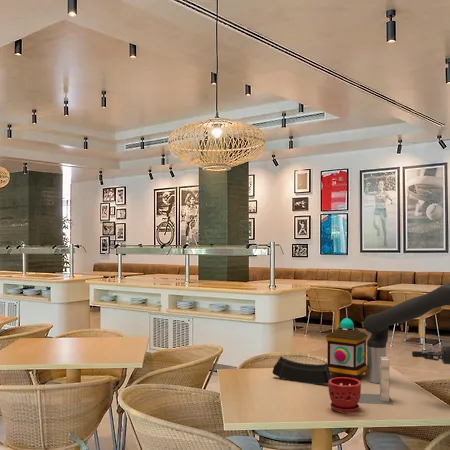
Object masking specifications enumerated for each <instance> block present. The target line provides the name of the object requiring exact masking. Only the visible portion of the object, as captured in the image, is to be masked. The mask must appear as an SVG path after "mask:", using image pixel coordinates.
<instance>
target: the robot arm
mask: <svg viewBox="0 0 450 450" xmlns="http://www.w3.org/2000/svg"><path fill="white" fill-rule="evenodd" d="M444 306H450V283H444V284H442V285H440V286H438V287H437V288H435V289H433V290H432V291H431V290H430V292H427V293H426V294H423V295H419V296H414V297H412V298H409V299H407V300H404V301H402V302H400V303H398V304H395V305H394V306H392V307H390V308H388V309H386V310H384V311H380V312H377V313H372V314H369V315H368V316H366V317H365V318H364V321H363V328H364V330H365V331H367V333H371V334H370V337H368V338H367V340H366V365H367V376H366V381H367V382H369V383H374V384H380V357H387V344H388V340H389V339H388V338H389V326H393V325H397V324H402V323H406V322H410V321H412V320H415V319H418V318H420V317H423V316H424V315H426V314H427V313H429V312H430V311H432V310H434V309H437V308H440V307H441V308H442V307H444ZM411 356H412V357H413V358H422V359H425V360H430V361H436V362H438V361H440V360H441V362H442V364H443V365H450V346H444V345H443V346H442V347H441V350H438V349H437V348H436V349H435V348H434V349H432V348H430V349H421V350H420V351H419V350H417V351H416V350H415V351H414V350H413V351H412V352H411Z"/></svg>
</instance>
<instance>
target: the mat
mask: <svg viewBox="0 0 450 450" xmlns="http://www.w3.org/2000/svg"><path fill="white" fill-rule="evenodd" d="M393 402H394V401H393V400H392V398H391V396H389V402H382V401H381V399H380V393H379V394H377V393H361V395H360V399H359V402H358V404H368V405H369V404H371V405H387V406H388V405H389V406H391V405H392V406H394V403H393Z"/></svg>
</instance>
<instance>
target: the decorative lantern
mask: <svg viewBox="0 0 450 450" xmlns="http://www.w3.org/2000/svg"><path fill="white" fill-rule="evenodd" d="M356 327H357V326H354V322H353V320H352V319H350V318H348V317H345V318H343V319H342V320H341V321H340V324H339V326H338V327H337V328H336V329H335V330H334V331H331V332H329V333H328V334H327V335H326V336H325V339H326V342H327V360H326V361H327V365H328V367H329V370H330V374H338V375H344V376H349V377H352V378H354V379H357V380H359V376H360V375H362V374H364V375H365V376H366V377H367V340H368V339H369V335H367V334H366V333H365V332H364V331H360V330H359V329H358V328H356Z"/></svg>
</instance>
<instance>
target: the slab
mask: <svg viewBox="0 0 450 450" xmlns="http://www.w3.org/2000/svg"><path fill="white" fill-rule="evenodd" d="M379 394H380V399H381V401H382V402H389V397H390V359H389V358H388V357H387V356H386V357H380V383H379Z"/></svg>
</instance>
